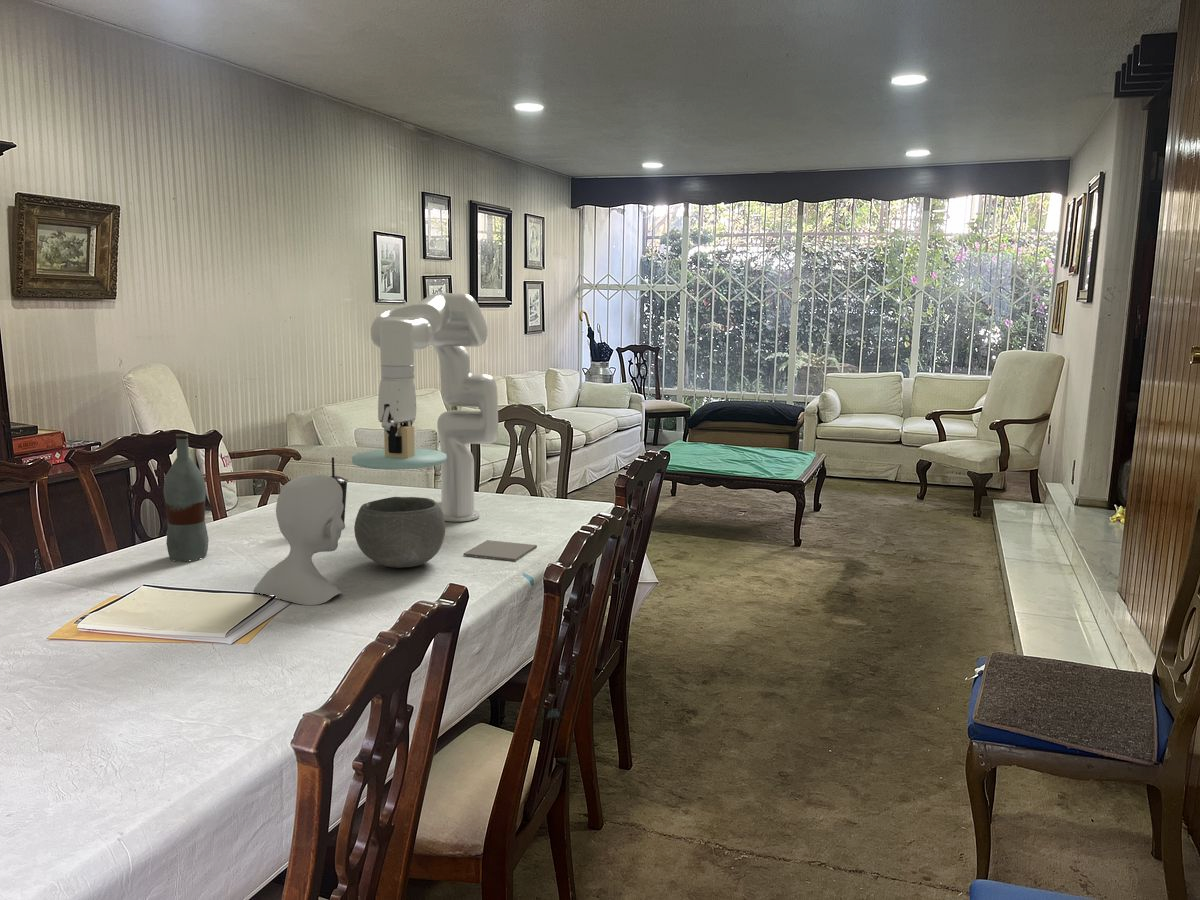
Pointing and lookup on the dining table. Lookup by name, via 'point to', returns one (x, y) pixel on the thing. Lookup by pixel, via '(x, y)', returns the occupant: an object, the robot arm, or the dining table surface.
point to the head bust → (305, 539)
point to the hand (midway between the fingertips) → (399, 450)
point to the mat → (500, 550)
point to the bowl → (400, 530)
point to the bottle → (185, 506)
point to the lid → (400, 455)
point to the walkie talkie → (343, 485)
